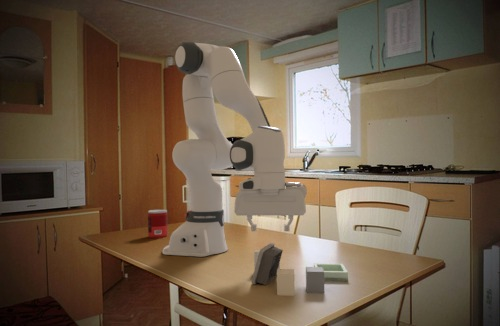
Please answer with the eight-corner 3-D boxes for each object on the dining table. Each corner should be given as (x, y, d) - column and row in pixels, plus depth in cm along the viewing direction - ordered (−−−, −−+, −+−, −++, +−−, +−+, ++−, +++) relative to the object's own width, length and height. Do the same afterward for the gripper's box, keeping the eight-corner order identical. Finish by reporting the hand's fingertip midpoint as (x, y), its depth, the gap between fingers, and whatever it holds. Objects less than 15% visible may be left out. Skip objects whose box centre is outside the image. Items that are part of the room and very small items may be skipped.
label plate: (254, 272, 104) (254, 251, 104) (254, 272, 105) (254, 250, 105) (279, 273, 103) (279, 251, 103) (279, 272, 104) (279, 250, 104)
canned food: (171, 235, 159) (170, 210, 159) (157, 239, 152) (156, 212, 152) (158, 234, 163) (158, 209, 163) (144, 237, 156) (143, 211, 156)
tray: (316, 280, 96) (316, 272, 96) (313, 271, 104) (313, 263, 104) (348, 280, 96) (347, 272, 96) (342, 271, 104) (342, 263, 104)
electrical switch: (263, 274, 102) (266, 241, 102) (281, 278, 100) (284, 244, 100) (250, 285, 94) (253, 248, 93) (270, 289, 92) (272, 252, 91)
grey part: (307, 292, 88) (306, 271, 88) (306, 287, 92) (305, 266, 92) (324, 293, 87) (324, 271, 87) (322, 287, 91) (322, 267, 91)
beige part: (277, 295, 86) (276, 273, 86) (277, 289, 90) (277, 268, 90) (294, 295, 86) (294, 274, 86) (294, 289, 90) (293, 269, 90)
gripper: (305, 181, 109) (306, 229, 109) (236, 182, 110) (236, 229, 110) (307, 182, 102) (307, 233, 102) (233, 183, 104) (233, 233, 104)
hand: (270, 231), depth 106 cm, fingers open, 8 cm apart
